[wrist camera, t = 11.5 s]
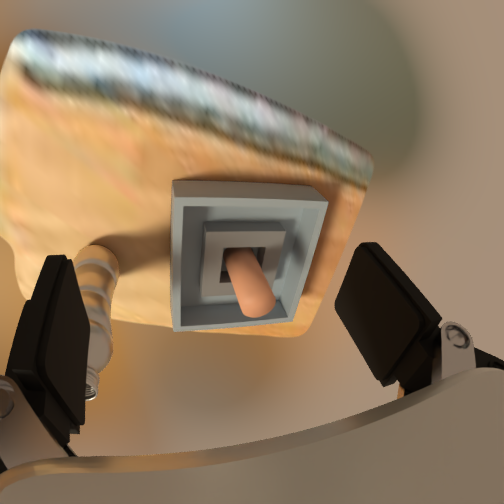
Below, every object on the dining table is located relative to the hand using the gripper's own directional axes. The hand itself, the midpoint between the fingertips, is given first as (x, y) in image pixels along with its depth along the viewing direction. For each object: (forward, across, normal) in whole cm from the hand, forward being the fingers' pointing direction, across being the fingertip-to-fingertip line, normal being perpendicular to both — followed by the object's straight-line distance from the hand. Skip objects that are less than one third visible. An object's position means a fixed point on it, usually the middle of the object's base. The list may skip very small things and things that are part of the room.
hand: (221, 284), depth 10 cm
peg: (+26, -8, +18) cm, 33 cm away
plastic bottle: (+27, +10, +19) cm, 34 cm away
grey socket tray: (+27, -8, +18) cm, 33 cm away
